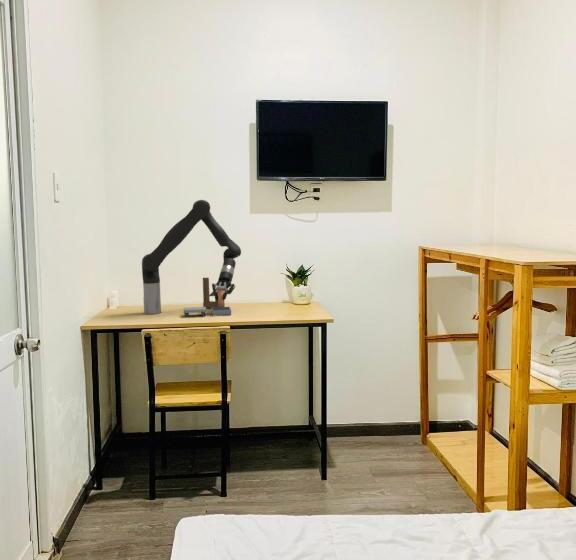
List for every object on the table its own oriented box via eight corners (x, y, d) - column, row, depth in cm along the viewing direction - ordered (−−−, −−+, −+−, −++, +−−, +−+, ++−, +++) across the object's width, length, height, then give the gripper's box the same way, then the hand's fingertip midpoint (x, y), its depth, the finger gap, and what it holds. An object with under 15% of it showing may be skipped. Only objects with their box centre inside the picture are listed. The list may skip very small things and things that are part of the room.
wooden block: (221, 307, 346) (221, 277, 344) (203, 308, 344) (202, 278, 342) (221, 306, 350) (220, 276, 348) (203, 307, 348) (202, 277, 346)
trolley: (183, 317, 317) (183, 310, 316) (184, 314, 325) (183, 307, 324) (206, 316, 319) (206, 309, 318) (205, 313, 327) (205, 306, 326)
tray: (212, 315, 320) (212, 310, 320) (211, 312, 330) (211, 307, 330) (231, 315, 322) (231, 309, 322) (229, 311, 332) (229, 306, 332)
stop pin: (217, 307, 323) (216, 287, 322) (217, 306, 328) (216, 286, 326) (225, 307, 324) (225, 287, 322) (225, 305, 328) (224, 285, 327)
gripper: (212, 270, 332) (205, 295, 322) (236, 270, 329) (230, 295, 319) (216, 278, 338) (209, 303, 328) (239, 278, 335) (233, 303, 324)
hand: (219, 299), depth 323 cm, fingers closed on stop pin, 3 cm apart
